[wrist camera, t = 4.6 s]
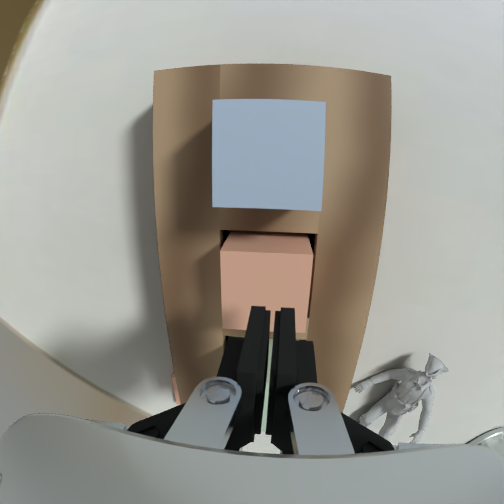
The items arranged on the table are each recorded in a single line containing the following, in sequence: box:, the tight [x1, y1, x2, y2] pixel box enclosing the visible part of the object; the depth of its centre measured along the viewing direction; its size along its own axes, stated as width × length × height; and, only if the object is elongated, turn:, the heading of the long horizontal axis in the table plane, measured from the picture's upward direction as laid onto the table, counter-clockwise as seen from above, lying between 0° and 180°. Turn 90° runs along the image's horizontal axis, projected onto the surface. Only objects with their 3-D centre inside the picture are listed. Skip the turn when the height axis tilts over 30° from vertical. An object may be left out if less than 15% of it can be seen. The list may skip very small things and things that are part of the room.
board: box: [153, 64, 391, 413], centre depth 18 cm, size 12×22×4 cm, turn 179°
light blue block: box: [212, 99, 326, 211], centre depth 14 cm, size 4×4×6 cm
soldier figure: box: [354, 353, 449, 443], centre depth 22 cm, size 8×5×12 cm
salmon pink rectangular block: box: [220, 230, 313, 333], centre depth 17 cm, size 4×4×6 cm
